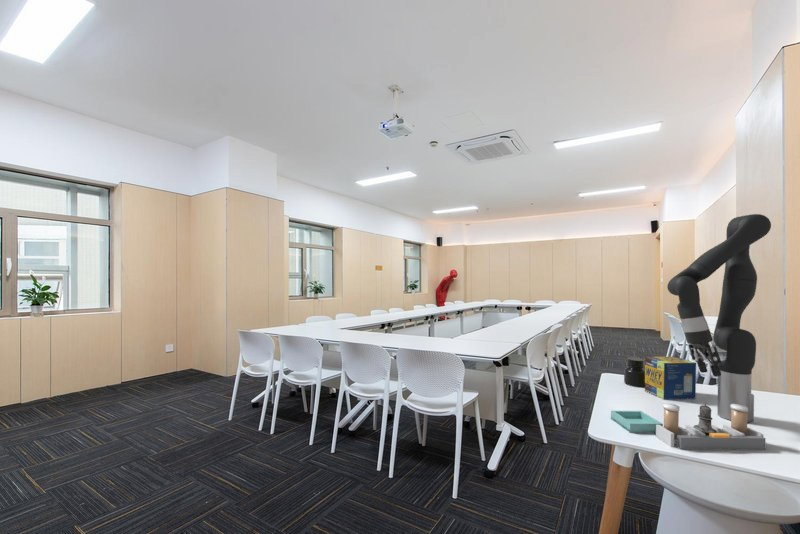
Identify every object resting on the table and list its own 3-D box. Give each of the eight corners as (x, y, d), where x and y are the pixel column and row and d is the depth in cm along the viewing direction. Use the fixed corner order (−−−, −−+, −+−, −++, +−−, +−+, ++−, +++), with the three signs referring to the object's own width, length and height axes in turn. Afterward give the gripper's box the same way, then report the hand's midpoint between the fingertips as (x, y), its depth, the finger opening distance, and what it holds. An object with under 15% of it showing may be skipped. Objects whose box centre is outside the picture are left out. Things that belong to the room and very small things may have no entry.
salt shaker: (718, 446, 114) (719, 407, 114) (694, 441, 117) (695, 403, 117) (714, 438, 119) (715, 401, 119) (691, 434, 122) (692, 398, 122)
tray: (640, 419, 134) (640, 410, 134) (662, 432, 123) (662, 423, 123) (610, 418, 134) (610, 410, 134) (629, 432, 123) (630, 423, 123)
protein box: (644, 391, 164) (644, 356, 164) (675, 390, 166) (675, 356, 166) (663, 399, 154) (663, 362, 154) (696, 398, 156) (697, 362, 156)
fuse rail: (732, 432, 124) (732, 419, 124) (768, 449, 112) (768, 435, 112) (647, 431, 124) (647, 418, 124) (674, 449, 112) (674, 435, 112)
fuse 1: (672, 436, 120) (672, 403, 120) (682, 443, 116) (682, 408, 116) (659, 436, 120) (660, 403, 120) (669, 442, 116) (669, 408, 116)
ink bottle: (640, 381, 178) (641, 357, 178) (651, 387, 169) (651, 361, 169) (619, 381, 179) (620, 356, 179) (629, 386, 170) (629, 361, 170)
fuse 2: (739, 437, 120) (739, 403, 120) (751, 443, 116) (752, 408, 116) (726, 437, 120) (726, 403, 120) (738, 443, 116) (738, 408, 116)
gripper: (718, 328, 128) (734, 375, 125) (697, 326, 141) (711, 369, 139) (694, 332, 129) (709, 379, 127) (675, 330, 143) (688, 372, 140)
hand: (710, 374), depth 133 cm, fingers open, 8 cm apart
